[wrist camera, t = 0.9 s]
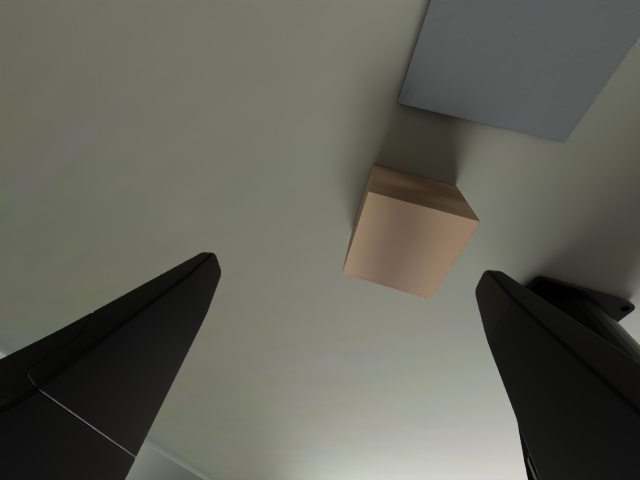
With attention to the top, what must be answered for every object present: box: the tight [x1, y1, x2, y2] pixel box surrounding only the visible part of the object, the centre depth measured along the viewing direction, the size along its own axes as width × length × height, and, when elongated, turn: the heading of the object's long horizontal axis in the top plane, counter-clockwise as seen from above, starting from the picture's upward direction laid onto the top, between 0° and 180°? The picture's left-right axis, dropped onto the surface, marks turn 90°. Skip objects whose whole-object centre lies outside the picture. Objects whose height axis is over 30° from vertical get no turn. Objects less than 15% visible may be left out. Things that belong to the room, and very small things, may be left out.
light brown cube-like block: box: [342, 165, 480, 300], centre depth 16 cm, size 6×6×5 cm
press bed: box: [397, 0, 640, 143], centre depth 11 cm, size 9×9×1 cm
